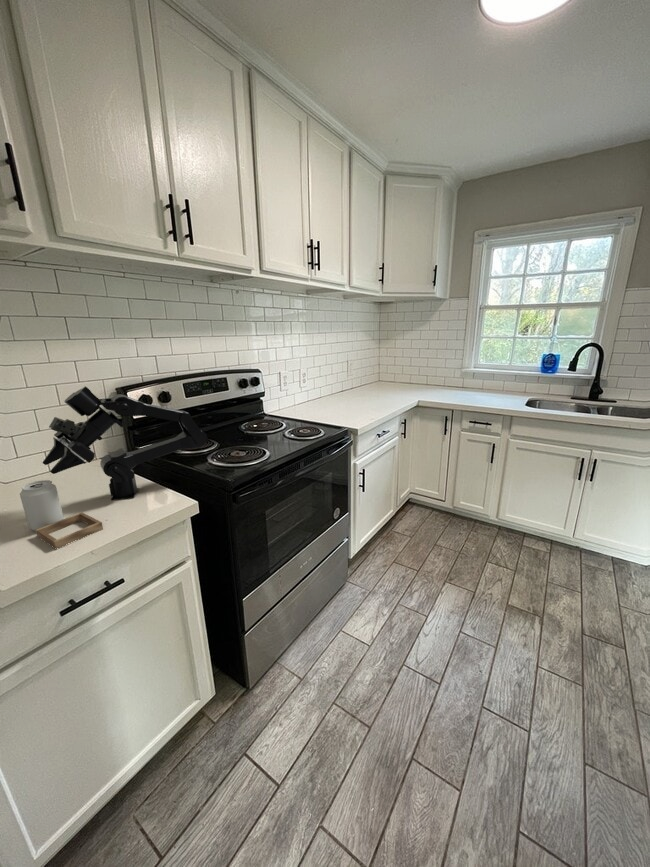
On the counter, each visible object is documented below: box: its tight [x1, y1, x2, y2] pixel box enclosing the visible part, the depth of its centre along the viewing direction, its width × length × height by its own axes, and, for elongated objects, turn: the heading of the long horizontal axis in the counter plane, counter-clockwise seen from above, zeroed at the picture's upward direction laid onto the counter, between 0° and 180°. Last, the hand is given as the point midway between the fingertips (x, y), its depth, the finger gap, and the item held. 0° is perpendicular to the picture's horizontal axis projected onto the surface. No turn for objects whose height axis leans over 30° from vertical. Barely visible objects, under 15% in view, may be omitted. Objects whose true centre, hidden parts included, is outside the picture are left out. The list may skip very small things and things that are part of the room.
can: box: [19, 479, 65, 532], centre depth 92 cm, size 8×8×12 cm
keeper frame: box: [35, 512, 104, 550], centre depth 90 cm, size 11×11×2 cm
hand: (47, 468), depth 96 cm, fingers open, 9 cm apart
